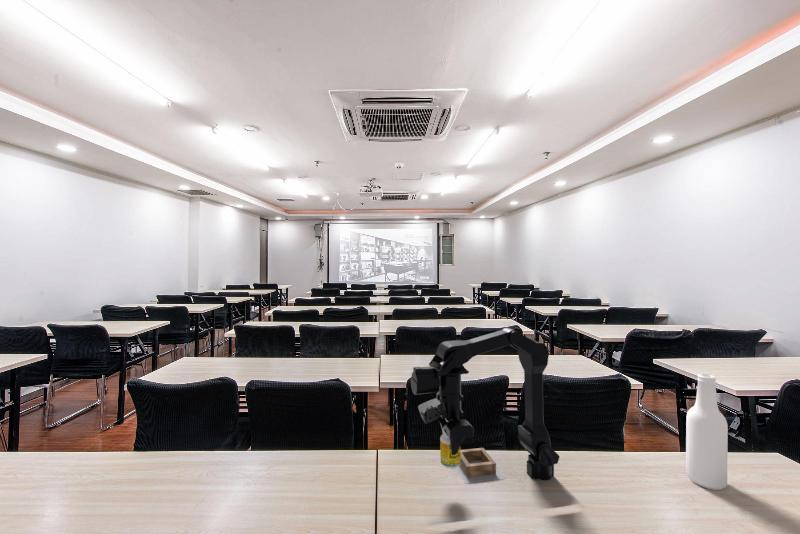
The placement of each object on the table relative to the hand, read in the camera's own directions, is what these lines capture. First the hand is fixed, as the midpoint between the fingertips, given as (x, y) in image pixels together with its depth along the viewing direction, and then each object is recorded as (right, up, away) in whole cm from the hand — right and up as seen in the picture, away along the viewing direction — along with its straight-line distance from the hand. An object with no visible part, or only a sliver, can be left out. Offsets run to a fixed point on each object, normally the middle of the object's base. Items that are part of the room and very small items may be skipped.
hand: (450, 448), depth 94 cm
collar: (+9, -11, +11) cm, 18 cm away
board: (+9, -12, +11) cm, 19 cm away
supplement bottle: (0, -4, 0) cm, 4 cm away
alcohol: (+73, -12, +5) cm, 74 cm away
